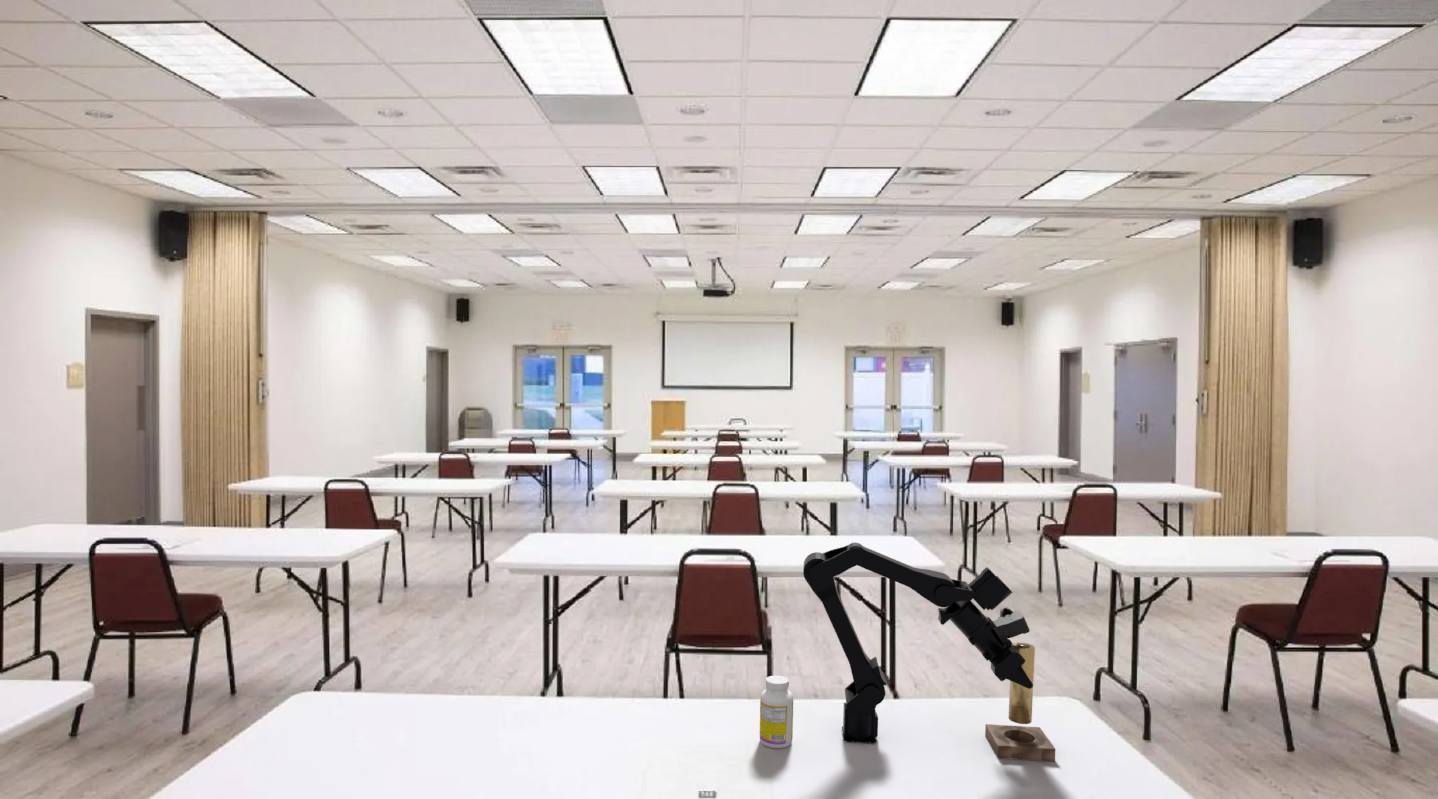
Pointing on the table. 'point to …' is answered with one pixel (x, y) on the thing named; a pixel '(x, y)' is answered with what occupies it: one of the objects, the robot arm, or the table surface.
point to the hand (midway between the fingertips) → (1028, 682)
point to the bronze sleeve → (1022, 688)
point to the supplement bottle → (776, 713)
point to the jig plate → (1019, 742)
